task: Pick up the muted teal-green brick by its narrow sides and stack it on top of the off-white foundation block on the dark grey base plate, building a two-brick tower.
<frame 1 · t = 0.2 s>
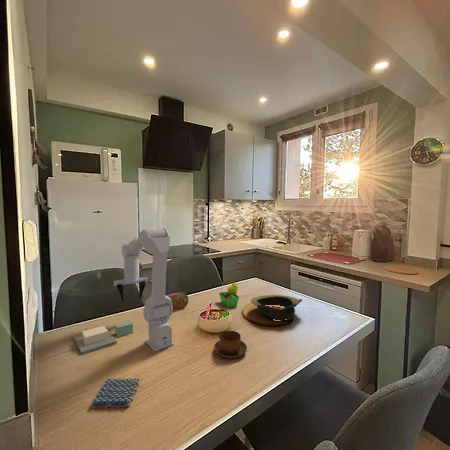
hand: (131, 299, 119), 10 cm above the table, fingers open, 7 cm apart
tin: (174, 310, 133), on the table
cup and saucer: (230, 352, 95), on the table
stone bowl: (274, 314, 129), on the table
fruit basket: (229, 304, 142), on the table
woven mat: (117, 396, 73), on the table
brick: (124, 333, 108), on the table
baseplate: (95, 341, 101), on the table
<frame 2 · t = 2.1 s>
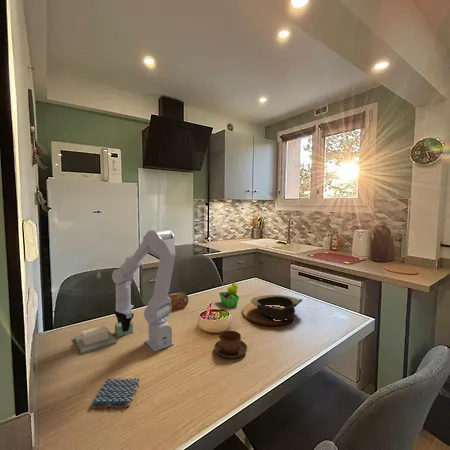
hand: (123, 329, 108), 2 cm above the table, fingers closed on brick, 4 cm apart
brick: (123, 332, 108), on the table, touching gripper
everything else where it was.
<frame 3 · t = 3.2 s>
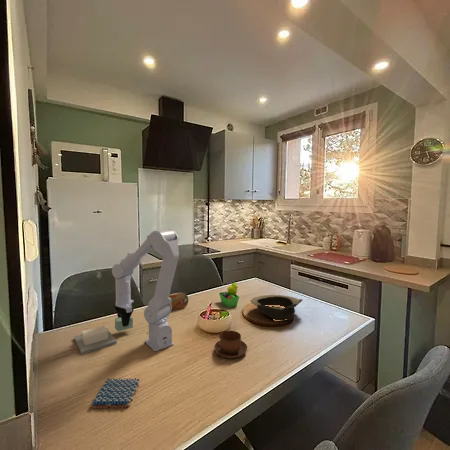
hand: (123, 323, 108), 4 cm above the table, fingers closed on brick, 4 cm apart
brick: (123, 327, 108), point 2 cm above the table, touching gripper
everything else where it was.
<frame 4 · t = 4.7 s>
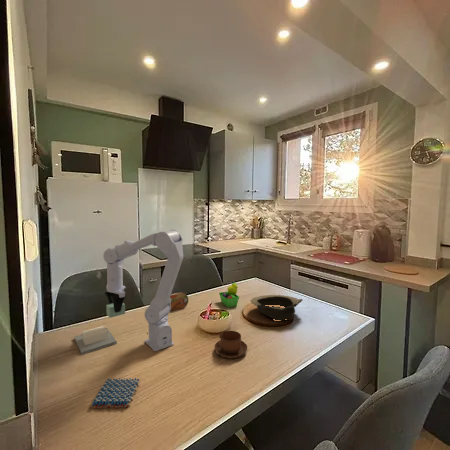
hand: (115, 310, 106), 10 cm above the table, fingers closed on brick, 4 cm apart
brick: (115, 314, 106), point 9 cm above the table, touching gripper
everything else where it was.
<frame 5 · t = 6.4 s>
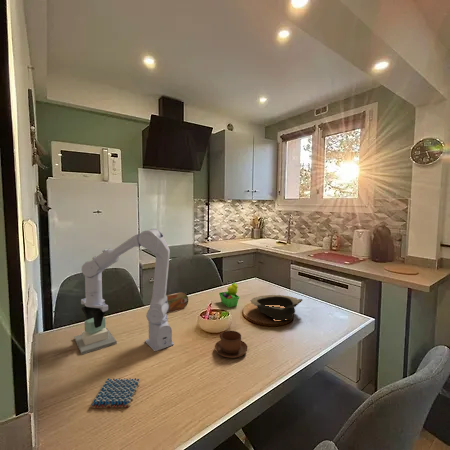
hand: (94, 325, 101), 6 cm above the table, fingers closed on brick, 4 cm apart
brick: (95, 329, 101), point 5 cm above the table, touching gripper
everything else where it was.
when the fingers open (6 cm above the table, at t = 6.6 s): brick stays where it is, resting on baseplate.
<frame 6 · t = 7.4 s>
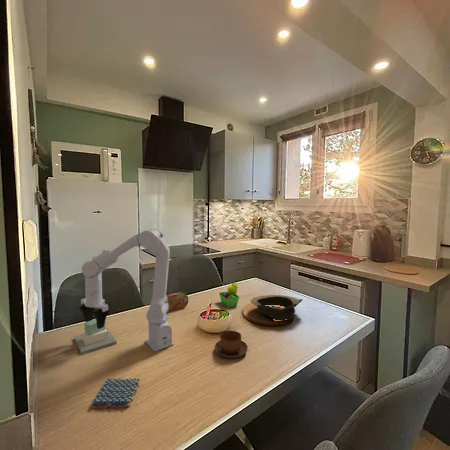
hand: (94, 325, 101), 6 cm above the table, fingers open, 7 cm apart
brick: (95, 331, 101), point 4 cm above the table, touching baseplate
everything else where it was.
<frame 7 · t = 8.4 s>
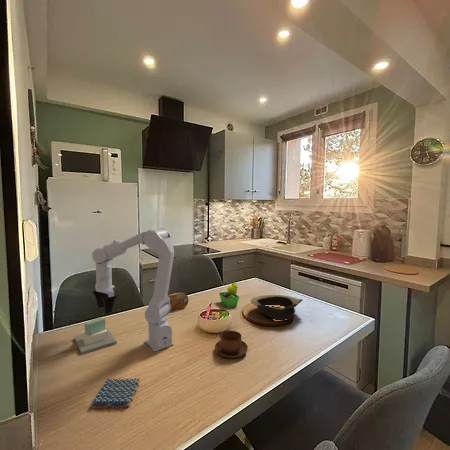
hand: (104, 309, 106), 10 cm above the table, fingers open, 7 cm apart
nothing on the table moved.
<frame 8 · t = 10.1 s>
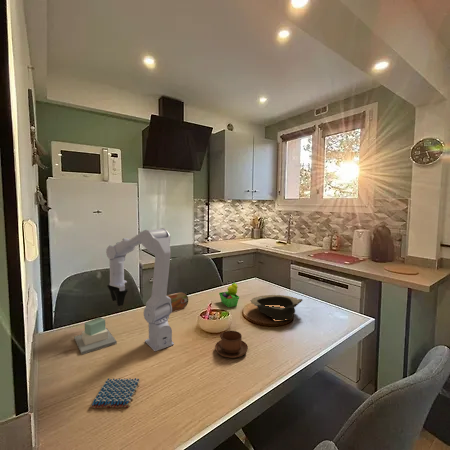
hand: (117, 302, 114), 10 cm above the table, fingers open, 7 cm apart
nothing on the table moved.
at the end: brick 0.1 cm off-centre on the baseplate, point 4.0 cm above the baseplate's base; brick tilted 0°; the gripper is holding nothing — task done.
